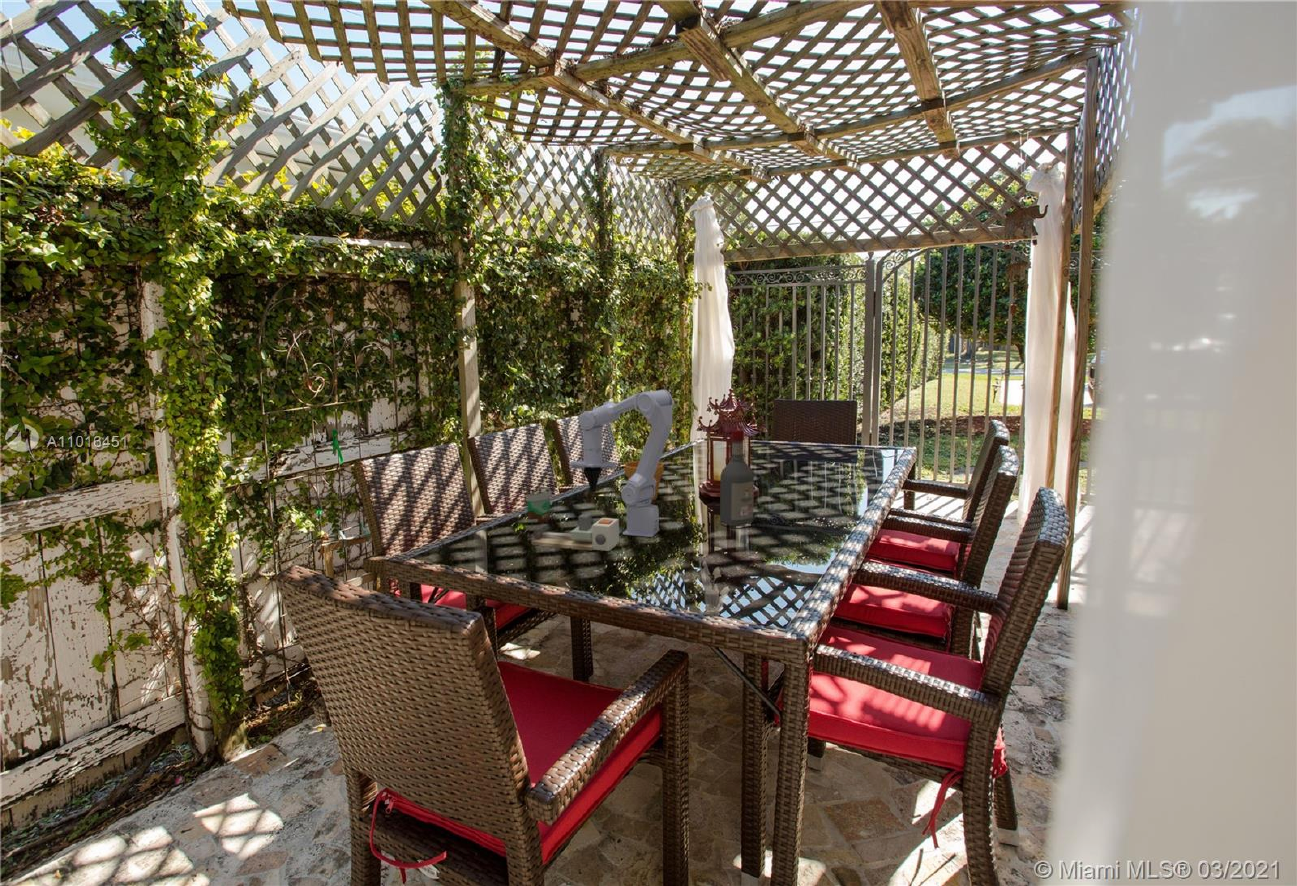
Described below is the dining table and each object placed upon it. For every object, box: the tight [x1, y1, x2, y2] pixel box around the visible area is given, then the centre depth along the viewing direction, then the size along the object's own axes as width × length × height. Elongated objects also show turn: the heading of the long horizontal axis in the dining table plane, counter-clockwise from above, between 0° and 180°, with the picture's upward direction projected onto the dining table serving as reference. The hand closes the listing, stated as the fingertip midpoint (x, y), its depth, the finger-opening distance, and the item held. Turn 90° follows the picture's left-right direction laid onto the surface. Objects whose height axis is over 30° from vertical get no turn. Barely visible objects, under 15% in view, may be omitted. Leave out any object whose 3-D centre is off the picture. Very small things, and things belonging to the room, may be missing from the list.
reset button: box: [598, 519, 612, 524], centre depth 189 cm, size 3×3×2 cm
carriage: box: [570, 513, 593, 542], centre depth 191 cm, size 6×7×7 cm
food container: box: [525, 486, 553, 524], centre depth 216 cm, size 12×6×10 cm, turn 168°
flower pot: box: [624, 460, 665, 502], centre depth 244 cm, size 14×14×13 cm
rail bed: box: [530, 523, 593, 551], centre depth 193 cm, size 19×10×4 cm, turn 73°
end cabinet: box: [591, 517, 620, 552], centre depth 189 cm, size 5×8×7 cm, turn 163°
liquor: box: [719, 429, 755, 526], centre depth 209 cm, size 9×9×30 cm
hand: (593, 490), depth 212 cm, fingers closed
